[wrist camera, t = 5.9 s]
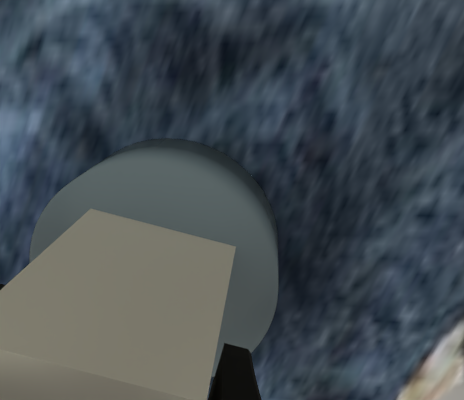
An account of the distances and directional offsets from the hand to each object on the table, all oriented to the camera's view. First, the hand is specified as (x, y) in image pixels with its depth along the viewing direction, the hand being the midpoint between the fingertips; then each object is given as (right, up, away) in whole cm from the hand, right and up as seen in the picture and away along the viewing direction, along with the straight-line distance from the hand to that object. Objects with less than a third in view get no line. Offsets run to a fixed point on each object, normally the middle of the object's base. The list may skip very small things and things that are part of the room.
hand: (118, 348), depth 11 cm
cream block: (0, +1, +3) cm, 3 cm away
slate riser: (+1, +2, +6) cm, 6 cm away
